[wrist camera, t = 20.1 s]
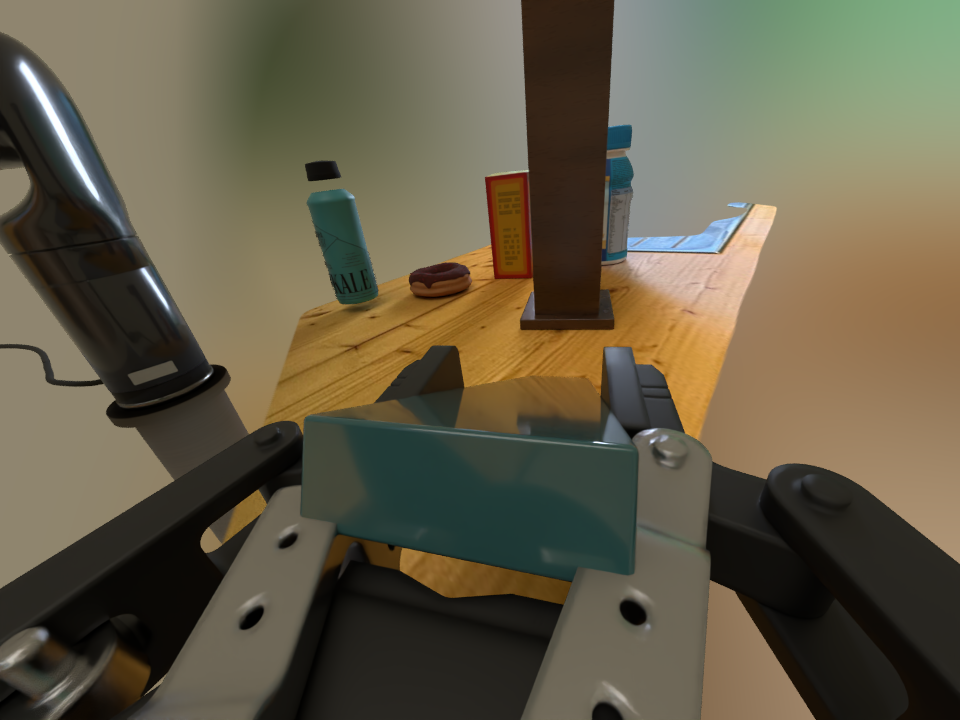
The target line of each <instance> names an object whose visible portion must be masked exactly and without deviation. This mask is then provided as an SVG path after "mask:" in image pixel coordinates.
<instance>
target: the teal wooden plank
mask: <svg viewBox="0 0 960 720" xmlns="http://www.w3.org/2000/svg"><path fill="white" fill-rule="evenodd" d="M638 479H639V451H638V448H637V447H636V445H635V444H634V442H633V441H632V439H631V438H630V437H629V435H628V434H627V432H626V431H625V430H624V428H623V427H622V425H621V424H620V423H619V421H618V420H617V418H616V417H615V416H614V414H613V413H612V411H611V410H610V408H609V407H608V406H607V404H606V403H605V401H604V400H603V399H602V397H601V396H600V394H599V393H598V392H597V390H596V389H595V387H594V386H593V385H592V383H591V382H590V380H589V379H588V378H577V377H555V376H527V377H521V378H515V379H510V380H504V381H498V382H493V383H487V384H481V385H476V386H470V387H464V388H459V389H453V390H447V391H442V392H436V393H430V394H425V395H419V396H413V397H408V398H402V399H396V400H391V401H385V402H379V403H374V404H368V405H362V406H357V407H351V408H345V409H340V410H334V411H328V412H323V413H317V414H311V415H309V416H307V417H305V419H304V432H303V455H302V479H301V503H300V515H301V516H302V517H304V518H310V519H315V520H321V521H327V522H332V523H337V530H338V533H339V535H344V536H349V537H354V538H358V539H363V540H368V541H373V542H378V543H383V544H388V545H393V546H398V547H402V548H407V549H412V550H417V551H422V552H427V553H432V554H437V555H442V556H446V557H451V558H456V559H461V560H466V561H471V562H476V563H481V564H486V565H490V566H495V567H500V568H505V569H510V570H515V571H520V572H525V573H530V574H534V575H539V576H544V577H549V578H554V579H559V580H564V581H569V582H573V579H574V576H575V574H576V571H577V568H578V567H583V568H588V569H594V570H600V571H605V572H611V573H616V574H622V575H627V576H628V575H632V574H634V572H635V568H636V541H637V510H638Z"/></svg>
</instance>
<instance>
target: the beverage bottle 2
mask: <svg viewBox="0 0 960 720" xmlns="http://www.w3.org/2000/svg"><path fill="white" fill-rule="evenodd" d="M631 137H632V127H631V125H619V126H612V127H608V139H607V159H606V180H605V200H604V220H603V241H602V261H601V265H609V264H615V263H619V262H622V261H623V260H625V259H626V257H627V237H628V225H629V214H630V203H631V200H632V197H633V189H632V187H631V180H632V178H633V175H634V174H633V169H632V166H631V163H630V161H629V159H628V158H627V156H626V154H625V151H626V150H629V149H630V148H629V147H630V146H631Z"/></svg>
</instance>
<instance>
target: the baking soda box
mask: <svg viewBox="0 0 960 720" xmlns="http://www.w3.org/2000/svg"><path fill="white" fill-rule="evenodd" d="M485 182H486V193H487V204H488V214H489V224H490V235H491V246H492V256H493V267H494V277H495V279H504V278H532V277H533V260H532V237H531V214H530V191H529V170H522V171H512V172H502V173H495V174H493V175H490V176H487V177H485Z"/></svg>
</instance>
